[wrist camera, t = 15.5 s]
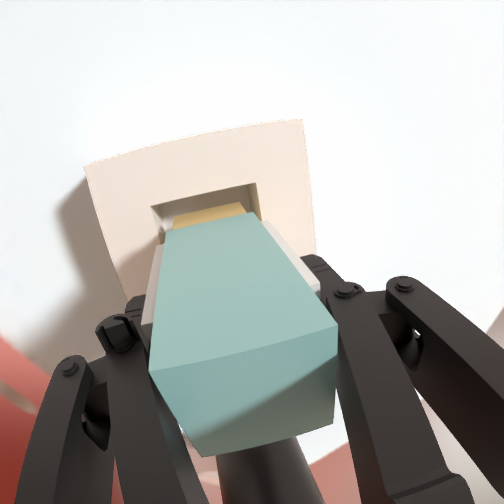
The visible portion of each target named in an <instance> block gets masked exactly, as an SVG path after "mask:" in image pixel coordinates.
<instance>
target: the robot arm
mask: <svg viewBox="0 0 504 504" xmlns="http://www.w3.org/2000/svg"><path fill="white" fill-rule="evenodd" d="M261 223H262V224H263V225H264V227H265V228H266V229H267V231H268V232H269V233H270V234H271V236H272V237H273V238H274V240H275V241H276V242H277V244H278V245H279V246H280V248H281V249H282V250H283V251H284V253H285V254H286V255H287V257H288V258H289V259H290V261H291V262H292V263H293V265H294V266H295V267H296V269H297V270H298V271H299V273H300V274H301V275H302V277H303V278H304V279H305V281H306V282H307V283H308V285H309V286H310V287H311V289H312V290H313V291H314V293H315V294H316V296H317V297H318V298H319V300H320V301H321V302H322V304H323V305H324V306H325V308H326V309H327V310H328V312H329V313H330V315H331V316H332V317H333V319H334V320H335V321H336V323H337V324H338V347H337V372H336V389H337V393H338V397H339V401H340V405H341V409H342V414H343V418H344V422H345V427H346V431H347V435H348V440H349V444H350V449H351V453H352V458H353V463H354V468H355V473H356V477H357V482H358V487H359V493H360V498H361V503H362V504H475V503H474V500H473V497H472V494H471V491H470V488H469V487H468V484H467V482H466V480H465V479H464V478H463V477H462V476H461V475H459V474H455V473H452V472H451V471H449V469H448V468H447V466H446V463H445V460H444V457H443V455H442V452H441V450H440V447H439V445H438V442H437V440H436V437H435V435H434V432H433V430H432V427H431V425H430V423H429V420H428V418H427V415H426V413H425V411H424V409H423V406H422V404H421V402H420V399H419V397H418V395H417V393H416V391H415V389H416V390H417V391H418V392H419V394H420V395H421V396H422V397H423V398H424V400H425V401H426V402H427V403H428V404H429V406H430V407H431V408H432V409H433V410H434V412H435V413H436V414H437V416H438V417H439V418H440V419H441V421H442V422H443V423H444V424H445V426H446V427H447V428H448V429H449V431H450V432H451V433H452V434H453V436H454V437H455V438H456V439H457V441H458V442H459V443H460V444H461V446H462V447H463V448H464V450H465V451H466V452H467V454H468V455H469V456H470V457H471V459H472V460H473V461H474V463H475V464H476V465H477V467H478V468H479V469H480V470H481V472H482V473H483V474H484V476H485V477H486V479H487V480H488V481H489V483H490V484H491V485H492V486H493V488H494V489H495V490H496V491H497V492H498V494H499V495H500V496H501V497H503V498H504V349H503V348H502V347H500V346H499V345H498V344H497V343H496V342H495V341H493V340H492V339H491V338H490V337H489V336H487V335H486V334H485V333H484V332H483V331H482V330H481V329H479V328H478V327H477V326H476V325H474V324H473V323H472V322H471V321H470V320H468V319H467V318H466V317H465V316H463V315H462V314H461V313H460V312H458V311H457V310H456V309H455V308H453V307H452V306H451V305H450V304H448V303H447V302H446V301H444V300H443V299H442V298H441V297H439V296H438V295H437V294H435V293H434V292H433V291H431V290H430V289H429V288H428V287H426V286H425V285H424V284H422V283H421V282H420V281H418V280H416V279H414V278H412V277H408V276H398V277H394V278H392V279H390V280H389V281H388V282H387V284H386V290H385V291H375V292H365V290H364V289H363V288H362V287H361V286H360V285H358V284H356V283H352V282H345V281H344V280H343V279H342V278H341V277H340V276H339V275H338V274H337V273H336V272H335V271H334V270H333V269H332V268H331V267H330V266H329V265H328V264H327V263H326V262H325V261H324V260H323V259H322V258H321V257H319V256H316V255H314V254H310V255H306V256H302V257H299V256H298V255H297V254H296V253H295V251H294V250H293V249H292V248H291V247H290V246H289V244H288V243H287V242H286V241H285V240H284V238H283V237H282V236H281V235H280V234H279V232H278V231H277V230H276V229H275V228H274V227H273V225H272V224H271V223H270V222H269V221H268V220H267V221H262V222H261ZM163 249H164V244H162V245H157V246H156V250H155V255H154V259H153V264H152V268H151V273H150V278H149V283H148V288H147V293H146V294H143V295H139V296H134V297H132V299H131V300H130V301H129V302H128V303H127V305H126V309H125V313H124V314H116V315H113V316H110V317H108V318H106V319H105V320H103V321H102V322H101V323H100V324H99V325H98V326H97V328H96V331H95V333H96V335H97V337H98V339H99V340H100V342H101V344H102V346H103V348H104V350H105V351H106V356H104V357H102V358H100V359H98V360H95V361H93V362H90V363H87V362H86V360H85V358H84V357H82V356H80V355H74V356H70V357H67V358H66V359H64V360H62V361H61V362H60V363H59V364H58V365H57V367H56V369H55V370H54V373H53V375H52V378H51V380H50V383H49V386H48V388H47V391H46V393H45V396H44V399H43V402H42V404H41V407H40V410H39V413H38V416H37V419H36V422H35V425H34V428H33V431H32V434H31V438H30V441H29V445H28V448H27V452H26V455H25V459H24V463H23V466H22V471H21V475H20V479H19V483H18V488H17V493H16V498H15V503H14V504H111V496H112V481H113V468H114V458H116V465H117V470H118V475H119V481H120V485H121V490H122V494H123V499H124V504H209V502H208V499H207V497H206V495H205V493H204V490H203V488H202V486H201V483H200V481H199V478H198V476H197V473H196V471H195V469H194V466H193V463H192V461H191V458H190V455H189V453H188V450H187V447H186V445H185V442H184V439H183V436H182V433H181V430H180V428H179V425H178V422H177V420H176V418H175V416H174V415H173V413H172V412H171V410H170V408H169V407H168V405H167V403H166V402H165V400H164V398H163V396H162V395H161V393H160V391H159V390H158V388H157V386H156V384H155V382H154V381H153V379H152V377H151V375H150V373H149V359H150V348H151V338H152V328H153V319H154V311H155V303H156V295H157V288H158V281H159V274H160V268H161V261H162V255H163ZM415 330H416V331H417V332H418V333H419V334H420V336H419V335H418V334H417V333H416V332H415ZM414 387H415V388H414ZM82 415H83V417H82Z"/></svg>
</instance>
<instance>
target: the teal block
mask: <svg viewBox="0 0 504 504" xmlns="http://www.w3.org/2000/svg"><path fill="white" fill-rule="evenodd" d="M337 347H338V324H337V323H336V321H335V320H334V319H333V317H332V316H331V315H330V313H329V312H328V310H327V309H326V308H325V306H324V305H323V304H322V302H321V301H320V300H319V298H318V297H317V296H316V294H315V293H314V291H313V290H312V289H311V287H310V286H309V285H308V283H307V282H306V281H305V279H304V278H303V277H302V275H301V274H300V273H299V271H298V270H297V269H296V267H295V266H294V265H293V263H292V262H291V261H290V259H289V258H288V257H287V255H286V254H285V253H284V251H283V250H282V249H281V248H280V246H279V245H278V244H277V242H276V241H275V240H274V238H273V237H272V236H271V234H270V233H269V232H268V231H267V229H266V228H265V227H264V225H263V224H262V223H261V221H260V220H259V219H258V218H257V216H256V215H255V214H254V212H250V213H247V212H246V211H245V209H244V208H243V206H242V205H241V204H240V202H236V203H231V204H227V205H222V206H218V207H213V208H209V209H204V210H200V211H195V212H191V213H187V214H183V215H178V216H174V220H173V228H172V230H170V231H167V232H166V237H165V243H164V249H163V255H162V261H161V268H160V274H159V281H158V288H157V295H156V303H155V311H154V319H153V328H152V338H151V348H150V359H149V373H150V375H151V377H152V379H153V381H154V382H155V384H156V386H157V388H158V390H159V391H160V393H161V395H162V396H163V398H164V400H165V402H166V403H167V405H168V407H169V408H170V410H171V412H172V413H173V415H174V416H175V418H176V420H177V421H178V423H179V424H180V426H181V428H182V429H183V431H184V432H185V434H186V435H187V437H188V438H189V440H190V441H191V443H192V444H193V446H194V447H195V449H196V450H197V452H198V453H199V454H200V456H201V457H208V456H213V455H219V454H224V453H230V452H234V451H239V450H244V449H248V448H253V447H257V446H261V445H265V444H269V443H273V442H276V441H280V440H284V439H287V438H290V437H294V436H297V435H300V434H304V433H307V432H310V431H313V430H316V429H319V428H322V427H325V426H327V425H330V424H333V418H334V405H335V390H336V372H337Z"/></svg>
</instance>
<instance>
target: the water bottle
mask: <svg viewBox="0 0 504 504" xmlns="http://www.w3.org/2000/svg"><path fill="white" fill-rule="evenodd" d="M216 461H217V468H218V475H219V482H220V489H221V495H222V501H223V504H325V502H324V500H323V497H322V495H321V493H320V491H319V488H318V486H317V484H316V482H315V479H314V477H313V475H312V473H311V470H310V468H309V466H308V464H307V461H306V459H305V457H304V454H303V452H302V450H301V447H300V445H299V443H298V441H297V438H296V436H294V437H290V438H287V439H284V440H280V441H276V442H273V443H269V444H265V445H261V446H257V447H253V448H248V449H244V450H239V451H234V452H230V453H224V454H219V455H216Z"/></svg>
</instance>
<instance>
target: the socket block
mask: <svg viewBox="0 0 504 504" xmlns="http://www.w3.org/2000/svg"><path fill="white" fill-rule="evenodd" d="M84 170H85V174H86V178H87V182H88V186H89V189H90V193H91V197H92V200H93V204H94V207H95V211H96V214H97V217H98V220H99V224H100V227H101V230H102V233H103V236H104V239H105V242H106V245H107V248H108V251H109V254H110V257H111V259H112V262H113V265H114V268H115V270H116V273H117V276H118V278H119V281H120V283H121V286H122V288H123V291H124V293H125V296H126V298H127V301H128V302H129V301H130V300H131V299H132V297H134V296H139V295H143V294H146V293H147V288H148V283H149V278H150V273H151V268H152V264H153V259H154V255H155V250H156V246H157V245H162V244H164V243H165V237H166V232H167V231H170V230H172V228H173V220H174V216H178V215H183V214H187V213H191V212H195V211H200V210H204V209H209V208H213V207H218V206H222V205H227V204H231V203H236V202H240V204H241V205H242V206H243V208H244V209H245V211H246V212H247V213H250V212H254V214H255V215H256V216H257V218H258V219H259V220H260V221H261V222H262V221H267V220H268V221H269V222H270V223H271V224H272V225H273V227H274V228H275V229H276V230H277V231H278V232H279V234H280V235H281V236H282V237H283V238H284V240H285V241H286V242H287V243H288V244H289V246H290V247H291V248H292V249H293V250H294V251H295V253H296V254H297V255H298V256H299V257H302V256H306V255H310V254H314V255H316V256H317V254H316V240H315V227H314V215H313V204H312V194H311V184H310V175H309V166H308V158H307V149H306V141H305V134H304V126H303V119H289V120H277V121H269V122H262V123H255V124H249V125H242V126H236V127H231V128H225V129H220V130H214V131H209V132H204V133H199V134H195V135H190V136H185V137H181V138H177V139H172V140H168V141H164V142H160V143H156V144H152V145H148V146H145V147H141V148H137V149H134V150H130V151H127V152H123V153H120V154H117V155H113V156H110V157H107V158H104V159H101V160H98V161H96V162H93V163H91V164H89V165H86V166H84Z"/></svg>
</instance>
